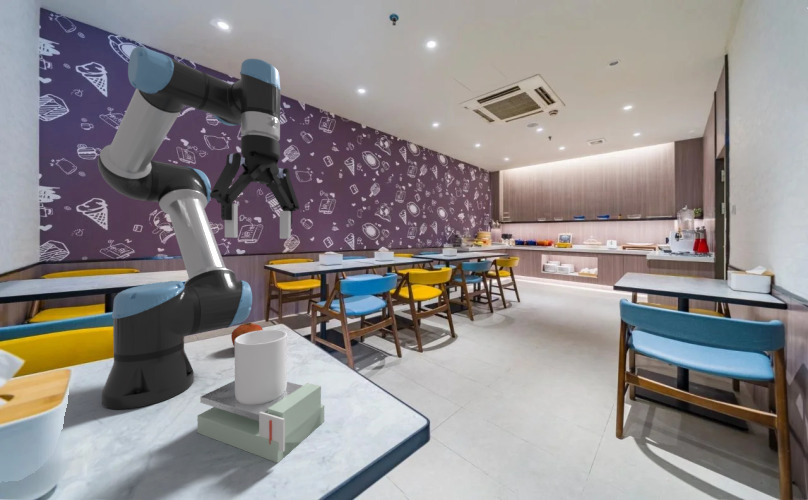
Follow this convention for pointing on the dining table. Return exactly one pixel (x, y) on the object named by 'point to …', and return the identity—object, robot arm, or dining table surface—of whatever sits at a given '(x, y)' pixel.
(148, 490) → the dining table surface
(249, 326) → the tomato
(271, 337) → the cup
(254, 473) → the dining table surface
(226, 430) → the scale base
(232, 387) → the speckled metal plate
